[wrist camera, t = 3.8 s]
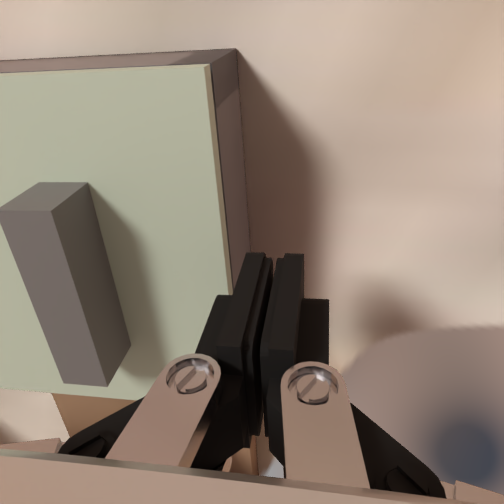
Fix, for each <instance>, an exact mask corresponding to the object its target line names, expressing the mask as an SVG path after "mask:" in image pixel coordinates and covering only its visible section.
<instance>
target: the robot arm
mask: <svg viewBox="0 0 504 504" xmlns="http://www.w3.org/2000/svg"><path fill="white" fill-rule="evenodd" d="M263 412H264V426H265V436H266V437H269V450H270V452H271V453H272V454H273V455H274V456H275V457H276V458H277V460H278V461H279V462H280V463H281V464H282V465H283V467H284V468H283V469H284V478H275V477H267V476H258V475H249V474H240V473H232V472H229V471H230V468H231V464H232V455H234V454H235V453H237V452H238V451H240V450H241V449H243V448H249V449H250V445H251V439H252V435H255V436H259V435H260V430H261V424H262V418H263ZM0 504H504V495H502V494H499V493H496V492H493V491H489V490H486V489H483V488H480V487H477V486H473V485H470V484H467V483H464V482H460V481H457V480H456V482H455V485H452V484H449V483H446V482H443V481H440V480H439V478H438V477H437V476H436V475H435V474H434V473H433V472H432V471H431V470H430V469H429V468H428V467H427V466H426V465H425V464H424V463H422V462H421V461H420V460H419V459H417V458H416V457H415V456H414V455H413V454H412V453H410V452H409V451H408V450H407V449H406V448H404V447H403V446H402V445H401V444H400V443H398V442H397V441H396V440H395V439H393V438H392V437H391V436H390V435H389V434H388V433H386V432H385V431H384V430H383V429H382V428H380V427H379V426H378V425H377V424H376V423H374V422H373V421H372V420H371V419H369V418H368V417H367V416H366V415H365V414H363V413H362V412H361V411H360V410H359V409H358V408H356V407H355V406H354V405H353V404H352V403H350V401H349V396H348V392H347V388H346V384H345V381H344V379H343V377H342V375H341V374H340V373H339V372H338V371H337V370H336V369H334V368H333V367H331V366H329V300H328V299H306V298H304V254H286V253H285V256H284V258H278V259H277V263H276V268H275V273H274V278H273V260H272V258H266V254H265V253H251V252H247V253H246V254H245V258H244V261H243V264H242V267H241V270H240V273H239V276H238V279H237V282H236V285H235V288H234V291H233V294H232V295H217V296H216V298H215V301H214V303H213V306H212V309H211V311H210V314H209V317H208V319H207V322H206V325H205V327H204V330H203V333H202V335H201V338H200V340H199V343H198V346H197V348H196V351H195V354H194V353H193V354H187V355H183V356H180V357H178V358H175V359H174V360H172V361H171V362H169V363H168V364H167V365H166V366H165V367H164V369H163V370H162V371H161V373H160V374H159V376H158V377H157V379H156V380H155V382H154V384H153V385H152V387H151V388H150V390H149V391H148V393H147V394H146V396H144V397H143V398H141V399H139V400H137V401H135V402H133V403H131V404H130V405H128V406H126V407H124V408H122V409H120V410H118V411H117V412H115V413H113V414H111V415H109V416H107V417H105V418H104V419H102V420H100V421H98V422H96V423H94V424H92V425H91V426H89V427H87V428H85V429H83V430H81V431H80V432H78V433H76V434H75V435H73V436H72V437H71V438H69V439H68V440H67V441H66V442H61V440H60V438H53V439H45V440H36V441H27V442H18V443H9V444H0Z"/></svg>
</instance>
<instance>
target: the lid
mask: <svg viewBox="0 0 504 504" xmlns="http://www.w3.org/2000/svg"><path fill="white" fill-rule="evenodd" d="M232 294H233V289H232V279H231V269H230V259H229V250H228V240H227V230H226V220H225V210H224V200H223V190H222V180H221V171H220V161H219V151H218V141H217V131H216V121H215V111H214V101H213V92H212V82H211V72H210V64H193V65H171V66H150V67H128V68H106V69H84V70H62V71H41V72H19V73H0V389H12V390H23V391H35V392H46V393H58V394H69V395H80V396H92V397H103V398H115V399H126V400H139V399H141V398H143V397H144V396H146V394H147V393H148V391H149V390H150V388H151V387H152V385H153V384H154V382H155V380H156V379H157V377H158V376H159V374H160V373H161V371H162V370H163V369H164V367H165V366H166V365H167V364H168V363H169V362H171V361H172V360H174V359H175V358H178V357H180V356H183V355H187V354H193V353H194V354H195V351H196V348H197V346H198V343H199V340H200V338H201V335H202V333H203V330H204V327H205V325H206V322H207V319H208V317H209V314H210V311H211V309H212V306H213V303H214V301H215V298H216V296H217V295H232Z"/></svg>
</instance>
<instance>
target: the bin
mask: <svg viewBox="0 0 504 504" xmlns="http://www.w3.org/2000/svg"><path fill="white" fill-rule="evenodd" d="M193 64H210V72H211V82H212V92H213V101H214V111H215V121H216V131H217V141H218V151H219V161H220V171H221V180H222V190H223V200H224V210H225V220H226V230H227V240H228V250H229V259H230V269H231V279H232V289H233V291H234V288H235V285H236V282H237V279H238V276H239V273H240V270H241V267H242V264H243V261H244V258H245V254H246V253H247V252H251V248H250V234H249V220H248V206H247V192H246V178H245V164H244V150H243V136H242V122H241V108H240V94H239V80H238V66H237V52H236V48H233V49H214V50H194V51H175V52H155V53H136V54H117V55H97V56H78V57H58V58H39V59H19V60H0V73H19V72H41V71H62V70H84V69H106V68H128V67H150V66H171V65H193Z"/></svg>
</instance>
